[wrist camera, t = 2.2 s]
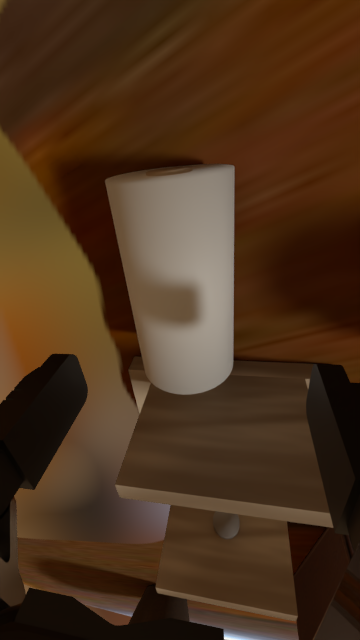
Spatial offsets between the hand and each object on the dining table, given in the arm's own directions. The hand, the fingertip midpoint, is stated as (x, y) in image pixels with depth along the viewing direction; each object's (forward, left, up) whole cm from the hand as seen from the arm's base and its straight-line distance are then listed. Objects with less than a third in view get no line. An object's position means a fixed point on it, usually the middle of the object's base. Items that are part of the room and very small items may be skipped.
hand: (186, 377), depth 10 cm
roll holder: (+15, +1, -9) cm, 17 cm away
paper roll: (0, -1, -7) cm, 7 cm away
